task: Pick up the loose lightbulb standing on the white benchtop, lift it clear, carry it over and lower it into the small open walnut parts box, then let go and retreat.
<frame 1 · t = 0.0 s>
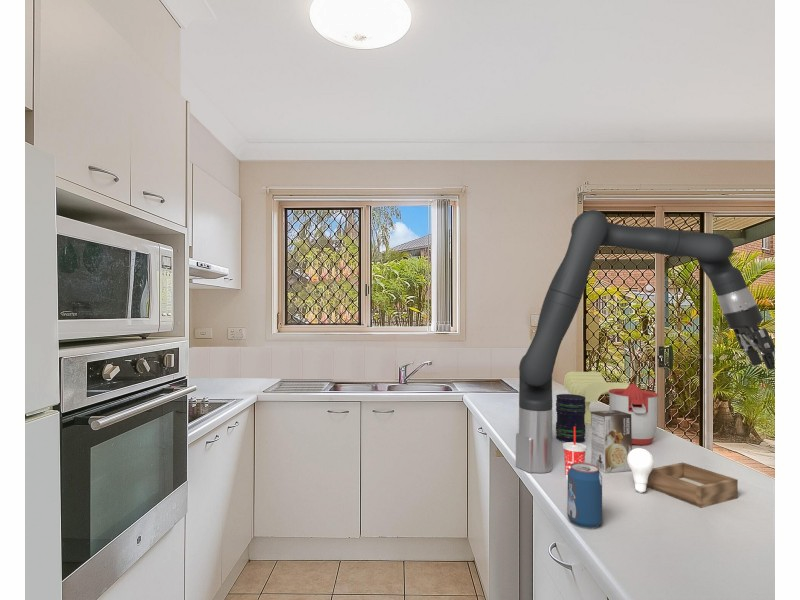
hand: (765, 366, 123), 31 cm above the countertop, tool tilted 20°, fingers open, 8 cm apart
soda can: (584, 523, 103), on the countertop
lightbulb: (640, 493, 120), on the countertop
citrus juicer: (633, 442, 166), on the countertop
hair dryer: (593, 420, 198), on the countertop
parts box: (691, 492, 121), on the countertop
beverage cup: (574, 479, 129), on the countertop
coffee box: (611, 469, 138), on the countertop
storage jar: (570, 439, 168), on the countertop
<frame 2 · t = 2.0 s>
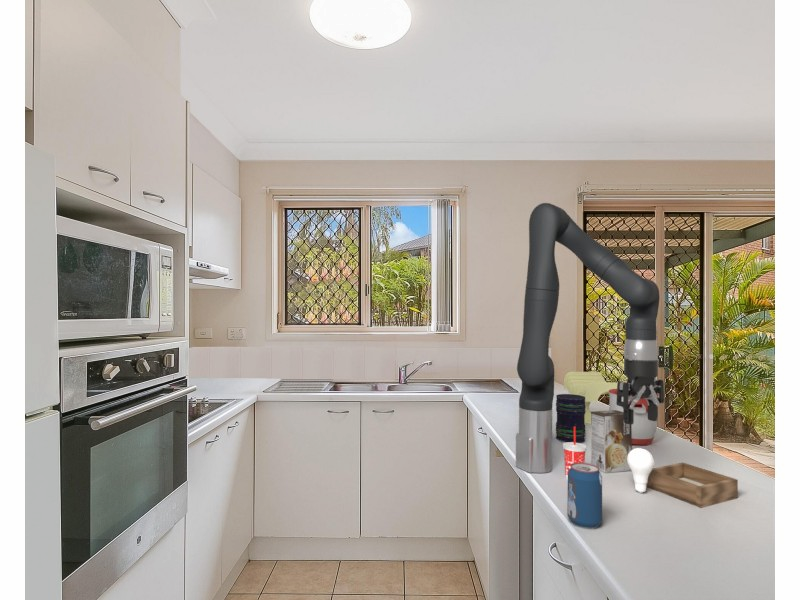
hand: (640, 422, 120), 18 cm above the countertop, tool pointing down, fingers open, 8 cm apart
nothing on the countertop moved.
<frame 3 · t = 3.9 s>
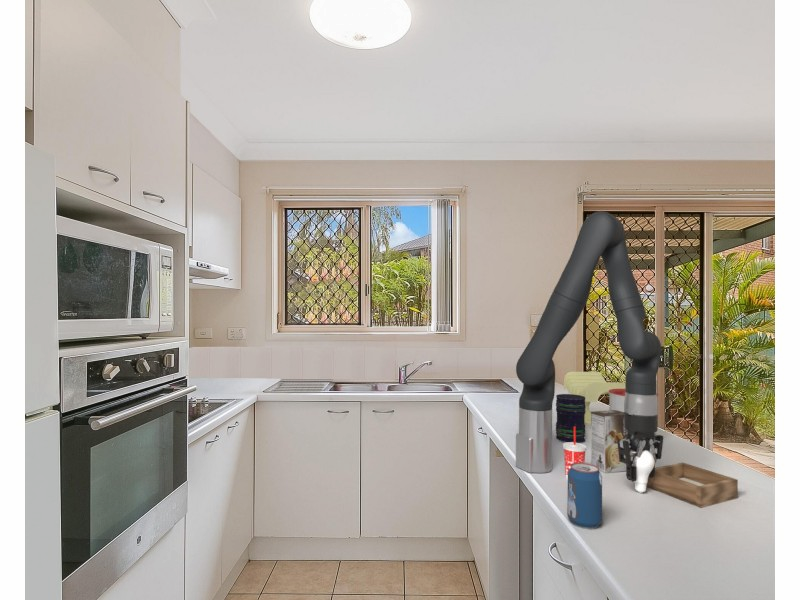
hand: (640, 478, 120), 4 cm above the countertop, tool pointing down, fingers closed on lightbulb, 6 cm apart
lightbulb: (640, 493, 120), on the countertop, touching gripper
everything else where it was.
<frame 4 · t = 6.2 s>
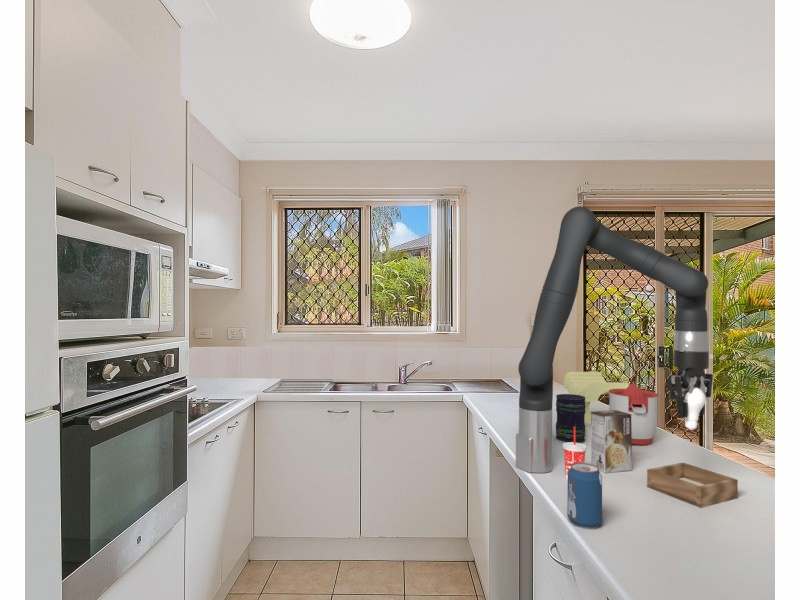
hand: (690, 415, 121), 19 cm above the countertop, tool pointing down, fingers closed on lightbulb, 6 cm apart
lightbulb: (690, 430, 121), point 15 cm above the countertop, touching gripper
everything else where it was.
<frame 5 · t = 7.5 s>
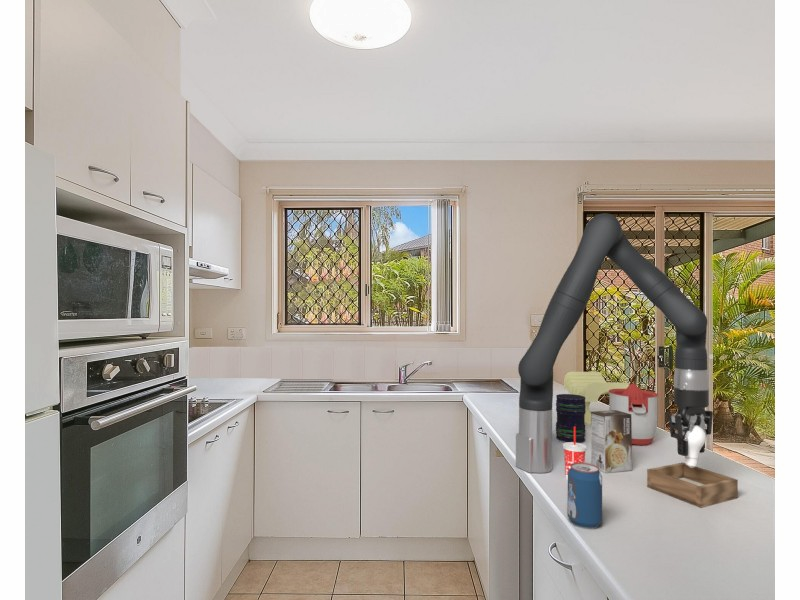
hand: (691, 453, 121), 10 cm above the countertop, tool pointing down, fingers closed on lightbulb, 6 cm apart
lightbulb: (691, 468, 121), point 6 cm above the countertop, touching gripper
everything else where it was.
when the fingers open (6 cm above the countertop, at t = 8.6 s): lightbulb drops 2 cm, resting on parts box.
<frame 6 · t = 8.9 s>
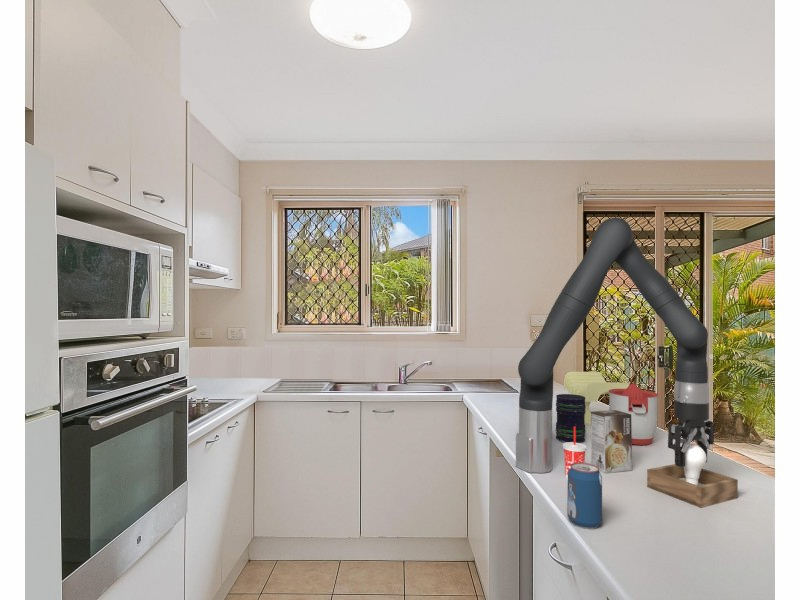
hand: (691, 464, 121), 7 cm above the countertop, tool pointing down, fingers open, 8 cm apart
lightbulb: (692, 488, 121), point 1 cm above the countertop, touching parts box
everything else where it was.
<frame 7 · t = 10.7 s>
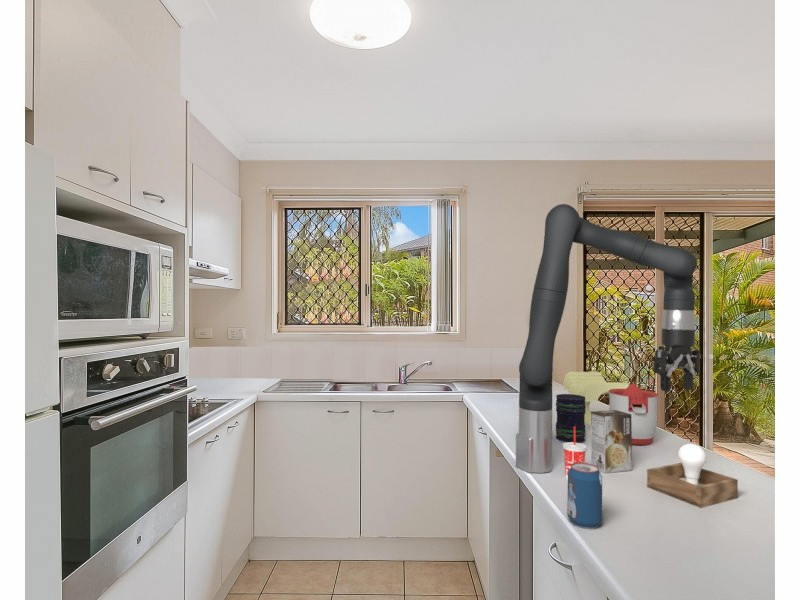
hand: (676, 390, 124), 25 cm above the countertop, tool pointing down, fingers open, 8 cm apart
nothing on the countertop moved.
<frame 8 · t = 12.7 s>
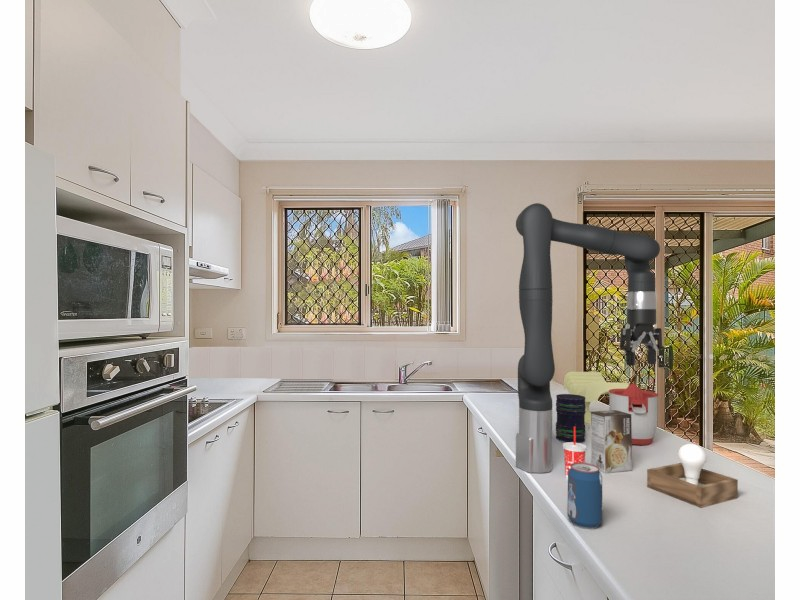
hand: (641, 364, 136), 30 cm above the countertop, tool pointing down, fingers open, 8 cm apart
nothing on the countertop moved.
at the end: lightbulb inside the target area on the parts box (0.5 cm from its centre), point 0.8 cm above the parts box's base; the gripper is holding nothing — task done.
